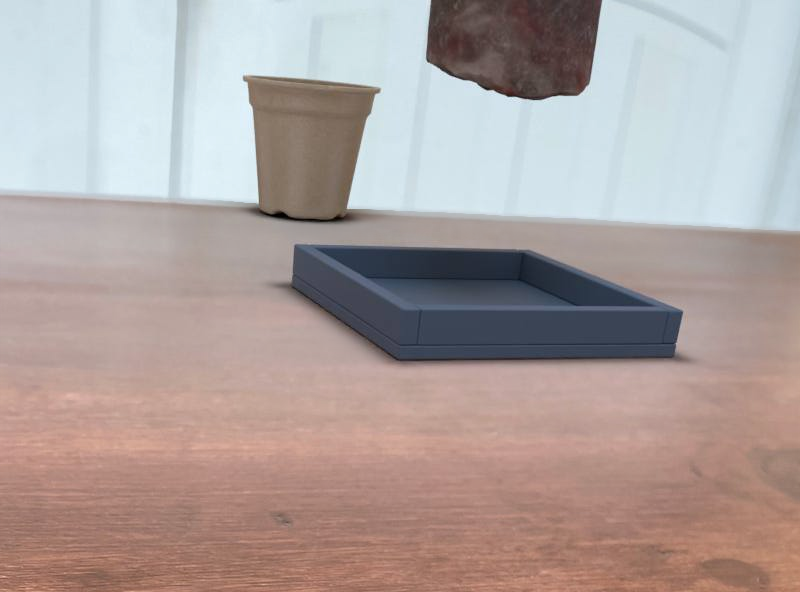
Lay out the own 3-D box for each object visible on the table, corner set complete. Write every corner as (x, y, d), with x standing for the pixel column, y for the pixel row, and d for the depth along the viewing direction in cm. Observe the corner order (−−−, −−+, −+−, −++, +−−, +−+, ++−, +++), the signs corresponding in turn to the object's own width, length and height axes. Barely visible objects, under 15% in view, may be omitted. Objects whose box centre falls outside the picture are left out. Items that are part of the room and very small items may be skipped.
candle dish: (524, 288, 66) (529, 249, 65) (674, 357, 54) (684, 310, 53) (291, 285, 61) (293, 243, 60) (397, 360, 49) (403, 308, 48)
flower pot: (313, 202, 91) (322, 77, 87) (395, 223, 84) (409, 89, 80) (211, 205, 85) (215, 72, 81) (290, 227, 79) (299, 84, 75)
